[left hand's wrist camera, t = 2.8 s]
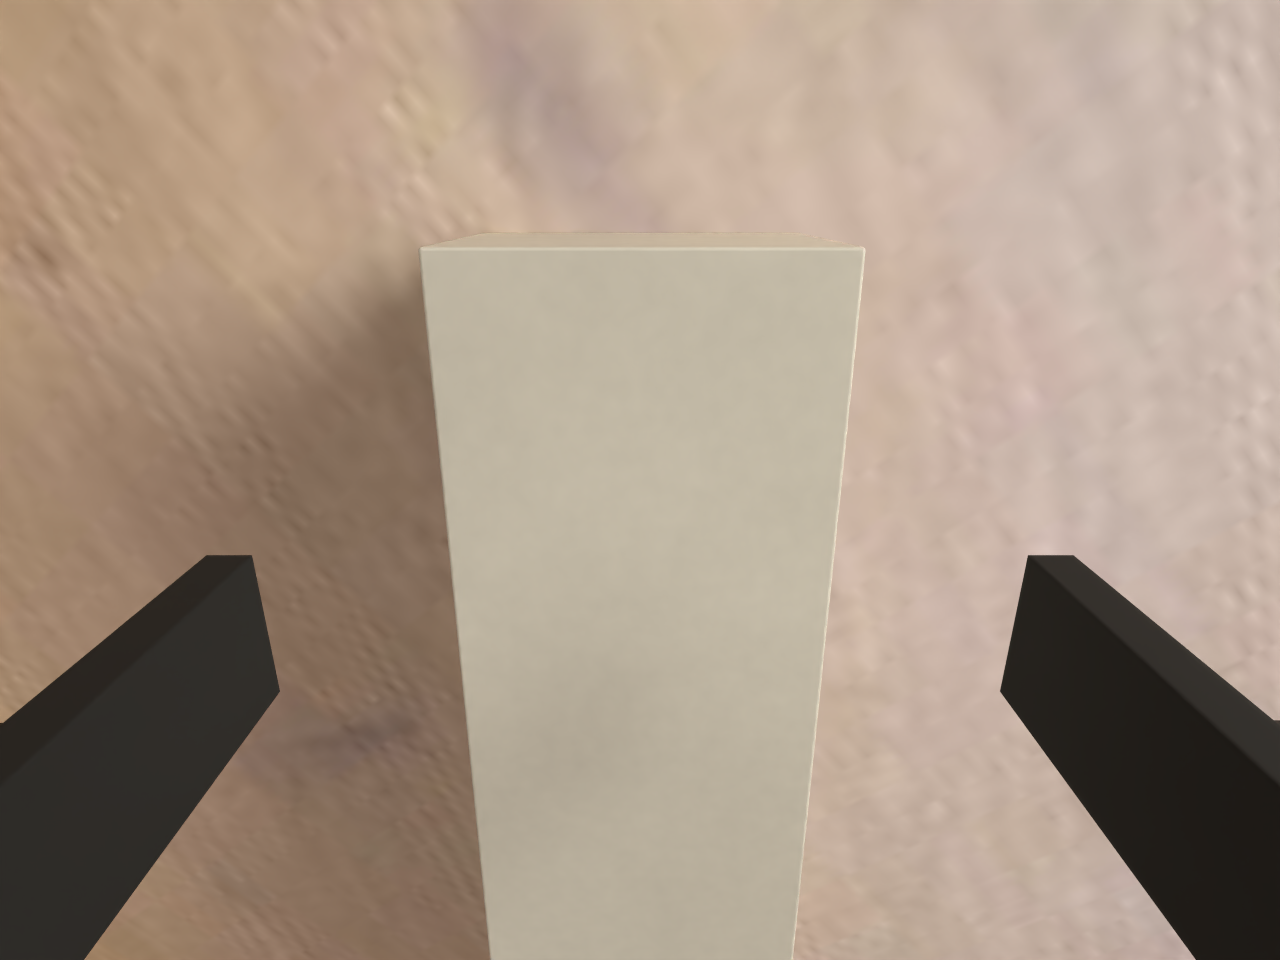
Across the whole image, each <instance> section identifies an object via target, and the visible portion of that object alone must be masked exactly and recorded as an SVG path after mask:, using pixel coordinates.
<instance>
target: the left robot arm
mask: <svg viewBox="0 0 1280 960" xmlns="http://www.w3.org/2000/svg"><path fill="white" fill-rule="evenodd" d="M279 692H280V690H279V685H278V680H277V675H276V670H275V665H274V660H273V656H272V651H271V646H270V641H269V636H268V631H267V626H266V622H265V617H264V612H263V607H262V602H261V597H260V592H259V588H258V583H257V578H256V573H255V568H254V563H253V558H252V555H206V556H205V557H204V558H203V559H202V560H200V561H199V562H198V563H197V564H196V565H194V566H193V567H192V568H191V569H189V570H188V571H187V572H186V573H185V574H183V575H182V576H181V577H180V578H179V579H177V580H176V581H175V582H174V583H172V584H171V585H170V586H169V587H168V588H166V589H165V590H164V591H163V592H162V593H160V594H159V595H158V596H157V597H156V598H154V599H153V600H152V601H151V602H149V603H148V604H147V605H146V606H145V607H143V608H142V609H141V610H140V611H139V612H137V613H136V614H135V615H134V616H132V617H131V618H130V619H129V620H128V621H126V622H125V623H124V624H123V625H122V626H120V627H119V628H118V629H117V630H115V631H114V632H113V633H112V634H111V635H109V636H108V637H107V638H106V639H105V640H103V641H102V642H101V643H100V644H98V645H97V646H96V647H95V648H94V649H92V650H91V651H90V652H89V653H88V654H86V655H85V656H84V657H83V658H81V659H80V660H79V661H78V662H77V663H75V664H74V665H73V666H72V667H71V668H69V669H68V670H67V671H66V672H64V673H63V674H62V675H61V676H60V677H58V678H57V679H56V680H55V681H54V682H52V683H51V684H50V685H49V686H47V687H46V688H45V689H44V690H43V691H41V692H40V693H39V694H38V695H37V696H35V697H34V698H33V699H32V700H31V701H29V702H28V703H27V704H26V705H24V706H23V707H22V708H21V709H20V710H18V711H17V712H16V713H15V714H14V715H12V716H11V717H10V718H9V719H7V720H6V721H5V722H4V723H0V960H84V959H85V958H86V956H87V955H88V954H89V952H90V951H91V949H92V948H93V947H94V945H95V944H96V943H97V941H98V940H99V938H100V937H101V936H102V934H103V933H104V932H105V930H106V929H107V928H108V926H109V925H110V923H111V922H112V921H113V919H114V918H115V917H116V915H117V914H118V912H119V911H120V910H121V908H122V907H123V906H124V904H125V903H126V901H127V900H128V899H129V897H130V896H131V895H132V893H133V892H134V891H135V889H136V888H137V886H138V885H139V884H140V882H141V881H142V880H143V878H144V877H145V875H146V874H147V873H148V871H149V870H150V869H151V867H152V866H153V865H154V863H155V862H156V860H157V859H158V858H159V856H160V855H161V854H162V852H163V851H164V849H165V848H166V847H167V845H168V844H169V843H170V841H171V840H172V838H173V837H174V836H175V834H176V833H177V832H178V830H179V829H180V828H181V826H182V825H183V823H184V822H185V821H186V819H187V818H188V817H189V815H190V814H191V812H192V811H193V810H194V808H195V807H196V806H197V804H198V803H199V802H200V800H201V799H202V797H203V796H204V795H205V793H206V792H207V791H208V789H209V788H210V786H211V785H212V784H213V782H214V781H215V780H216V778H217V777H218V775H219V774H220V773H221V771H222V770H223V769H224V767H225V766H226V765H227V763H228V762H229V760H230V759H231V758H232V756H233V755H234V754H235V752H236V751H237V749H238V748H239V747H240V745H241V744H242V743H243V741H244V740H245V739H246V737H247V736H248V734H249V733H250V732H251V730H252V729H253V728H254V726H255V725H256V723H257V722H258V721H259V719H260V718H261V717H262V715H263V714H264V712H265V711H266V710H267V708H268V707H269V706H270V704H271V703H272V702H273V700H274V699H275V697H276V696H277V695H278V693H279ZM1000 692H1001V693H1002V695H1003V696H1004V697H1005V699H1006V700H1007V702H1008V703H1009V704H1010V706H1011V707H1012V708H1013V710H1014V711H1015V712H1016V714H1017V715H1018V717H1019V718H1020V719H1021V721H1022V722H1023V723H1024V725H1025V726H1026V728H1027V729H1028V730H1029V732H1030V733H1031V734H1032V736H1033V737H1034V739H1035V740H1036V741H1037V743H1038V744H1039V745H1040V747H1041V748H1042V749H1043V751H1044V752H1045V754H1046V755H1047V756H1048V758H1049V759H1050V760H1051V762H1052V763H1053V765H1054V766H1055V767H1056V769H1057V770H1058V771H1059V773H1060V774H1061V775H1062V777H1063V778H1064V780H1065V781H1066V782H1067V784H1068V785H1069V786H1070V788H1071V789H1072V791H1073V792H1074V793H1075V795H1076V796H1077V797H1078V799H1079V800H1080V802H1081V803H1082V804H1083V806H1084V807H1085V808H1086V810H1087V811H1088V812H1089V814H1090V815H1091V817H1092V818H1093V819H1094V821H1095V822H1096V823H1097V825H1098V826H1099V828H1100V829H1101V830H1102V832H1103V833H1104V834H1105V836H1106V837H1107V838H1108V840H1109V841H1110V843H1111V844H1112V845H1113V847H1114V848H1115V849H1116V851H1117V852H1118V854H1119V855H1120V856H1121V858H1122V859H1123V860H1124V862H1125V863H1126V865H1127V866H1128V867H1129V869H1130V870H1131V871H1132V873H1133V874H1134V875H1135V877H1136V878H1137V880H1138V881H1139V882H1140V884H1141V885H1142V886H1143V888H1144V889H1145V891H1146V892H1147V893H1148V895H1149V896H1150V897H1151V899H1152V900H1153V901H1154V903H1155V904H1156V906H1157V907H1158V908H1159V910H1160V911H1161V912H1162V914H1163V915H1164V917H1165V918H1166V919H1167V921H1168V922H1169V923H1170V925H1171V926H1172V928H1173V929H1174V930H1175V932H1176V933H1177V934H1178V936H1179V937H1180V938H1181V940H1182V941H1183V943H1184V944H1185V945H1186V947H1187V948H1188V949H1189V951H1190V952H1191V954H1192V955H1193V956H1194V958H1195V959H1196V960H1280V720H1273V719H1271V718H1270V717H1269V716H1268V715H1266V714H1265V713H1264V712H1263V711H1262V710H1260V709H1259V708H1258V707H1257V706H1256V705H1254V704H1253V703H1252V702H1251V701H1249V700H1248V699H1247V698H1246V697H1245V696H1243V695H1242V694H1241V693H1240V692H1239V691H1237V690H1236V689H1235V688H1234V687H1233V686H1231V685H1230V684H1229V683H1228V682H1226V681H1225V680H1224V679H1223V678H1222V677H1220V676H1219V675H1218V674H1217V673H1216V672H1214V671H1213V670H1212V669H1211V668H1209V667H1208V666H1207V665H1206V664H1205V663H1203V662H1202V661H1201V660H1200V659H1199V658H1197V657H1196V656H1195V655H1194V654H1192V653H1191V652H1190V651H1189V650H1188V649H1186V648H1185V647H1184V646H1183V645H1182V644H1180V643H1179V642H1178V641H1177V640H1175V639H1174V638H1173V637H1172V636H1171V635H1169V634H1168V633H1167V632H1166V631H1165V630H1163V629H1162V628H1161V627H1160V626H1158V625H1157V624H1156V623H1155V622H1154V621H1152V620H1151V619H1150V618H1149V617H1148V616H1146V615H1145V614H1144V613H1143V612H1141V611H1140V610H1139V609H1138V608H1137V607H1135V606H1134V605H1133V604H1132V603H1131V602H1129V601H1128V600H1127V599H1126V598H1124V597H1123V596H1122V595H1121V594H1120V593H1118V592H1117V591H1116V590H1115V589H1114V588H1112V587H1111V586H1110V585H1109V584H1108V583H1106V582H1105V581H1104V580H1103V579H1101V578H1100V577H1099V576H1098V575H1097V574H1095V573H1094V572H1093V571H1092V570H1091V569H1089V568H1088V567H1087V566H1086V565H1084V564H1083V563H1082V562H1081V561H1080V560H1078V559H1077V558H1076V557H1075V556H1074V555H1028V558H1027V563H1026V568H1025V573H1024V578H1023V583H1022V588H1021V592H1020V597H1019V602H1018V607H1017V612H1016V617H1015V622H1014V626H1013V631H1012V636H1011V641H1010V646H1009V651H1008V656H1007V660H1006V665H1005V670H1004V675H1003V680H1002V685H1001V690H1000Z"/></svg>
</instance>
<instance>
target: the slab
mask: <svg viewBox="0 0 1280 960" xmlns="http://www.w3.org/2000/svg"><path fill="white" fill-rule="evenodd" d="M418 252H419V261H420V271H421V281H422V291H423V301H424V311H425V321H426V331H427V341H428V350H429V360H430V370H431V380H432V390H433V400H434V410H435V420H436V429H437V439H438V449H439V459H440V469H441V479H442V489H443V499H444V509H445V518H446V528H447V538H448V548H449V558H450V568H451V578H452V588H453V597H454V607H455V617H456V627H457V637H458V647H459V657H460V667H461V676H462V686H463V696H464V706H465V716H466V726H467V736H468V746H469V756H470V765H471V775H472V785H473V795H474V805H475V815H476V825H477V835H478V844H479V854H480V864H481V874H482V884H483V894H484V904H485V914H486V924H487V933H488V943H489V953H490V960H793V950H794V940H795V930H796V921H797V911H798V901H799V892H800V882H801V872H802V862H803V853H804V843H805V833H806V824H807V814H808V804H809V795H810V785H811V775H812V765H813V756H814V746H815V736H816V727H817V717H818V707H819V697H820V688H821V678H822V668H823V659H824V649H825V639H826V629H827V620H828V610H829V600H830V591H831V581H832V571H833V561H834V552H835V542H836V532H837V523H838V513H839V503H840V493H841V484H842V474H843V464H844V455H845V445H846V435H847V426H848V416H849V406H850V396H851V387H852V377H853V367H854V358H855V348H856V338H857V328H858V319H859V309H860V299H861V290H862V280H863V270H864V260H865V248H863V247H860V246H856V245H851V244H847V243H842V242H838V241H833V240H829V239H824V238H819V237H815V236H810V235H806V234H801V233H482V234H477V235H473V236H468V237H464V238H459V239H455V240H450V241H446V242H441V243H437V244H432V245H428V246H423V247H421V248H419V251H418Z"/></svg>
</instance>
